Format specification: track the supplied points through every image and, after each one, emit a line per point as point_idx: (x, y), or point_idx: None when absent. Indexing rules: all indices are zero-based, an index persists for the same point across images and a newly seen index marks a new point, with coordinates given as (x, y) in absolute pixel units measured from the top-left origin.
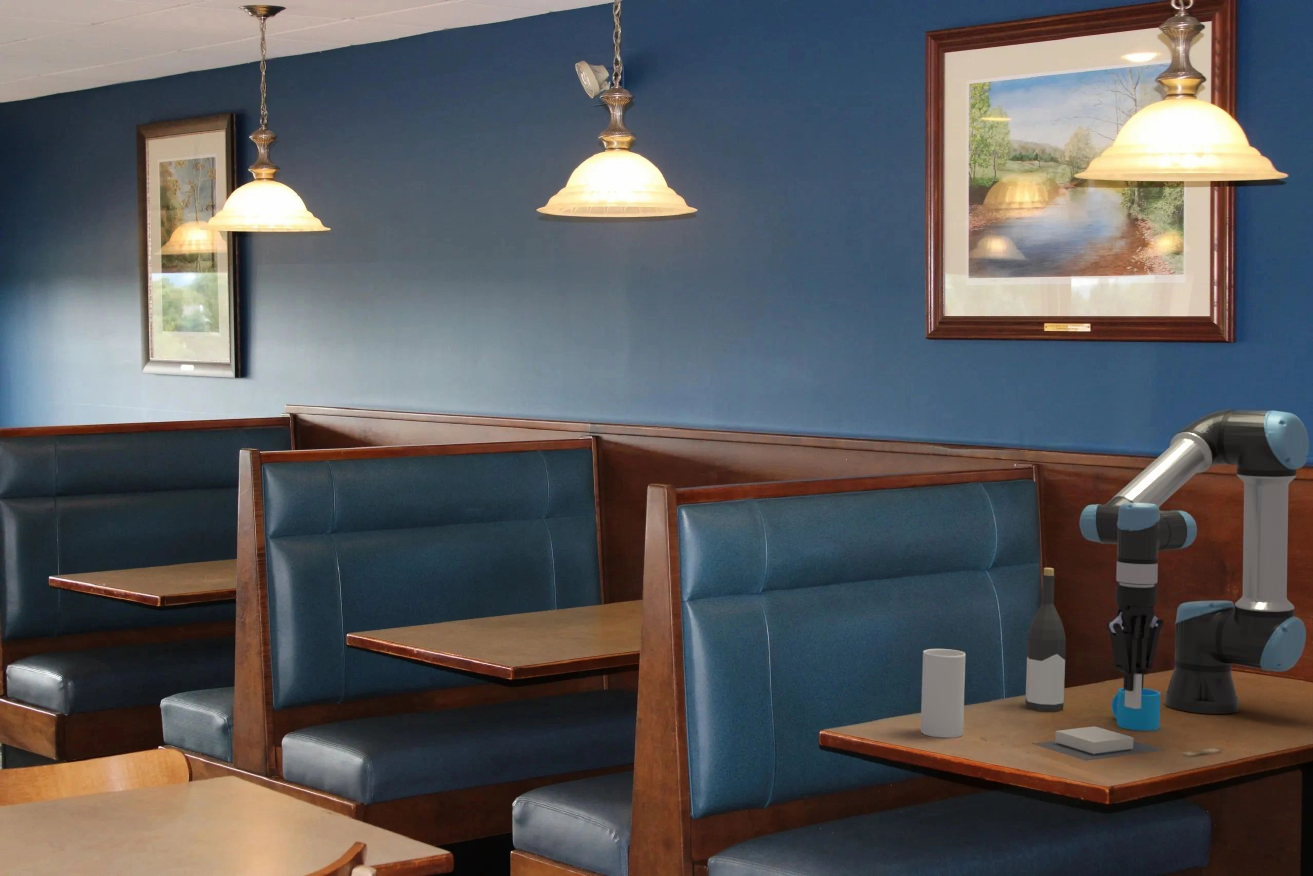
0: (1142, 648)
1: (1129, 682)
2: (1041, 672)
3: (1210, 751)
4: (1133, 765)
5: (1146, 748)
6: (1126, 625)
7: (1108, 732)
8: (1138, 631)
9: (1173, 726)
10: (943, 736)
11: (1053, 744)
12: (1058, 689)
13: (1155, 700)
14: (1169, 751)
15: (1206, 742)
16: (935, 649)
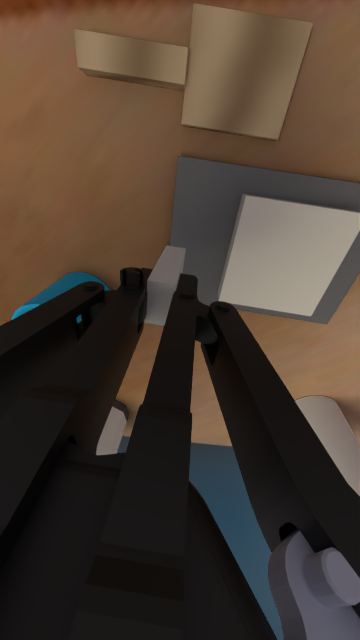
0: (109, 346)
1: (195, 286)
2: (109, 449)
3: (107, 40)
4: (312, 135)
5: (202, 189)
6: (253, 598)
7: (245, 257)
8: (134, 467)
9: (11, 292)
10: (335, 402)
11: None
12: None
13: (45, 299)
14: (137, 182)
15: (17, 191)
16: None
